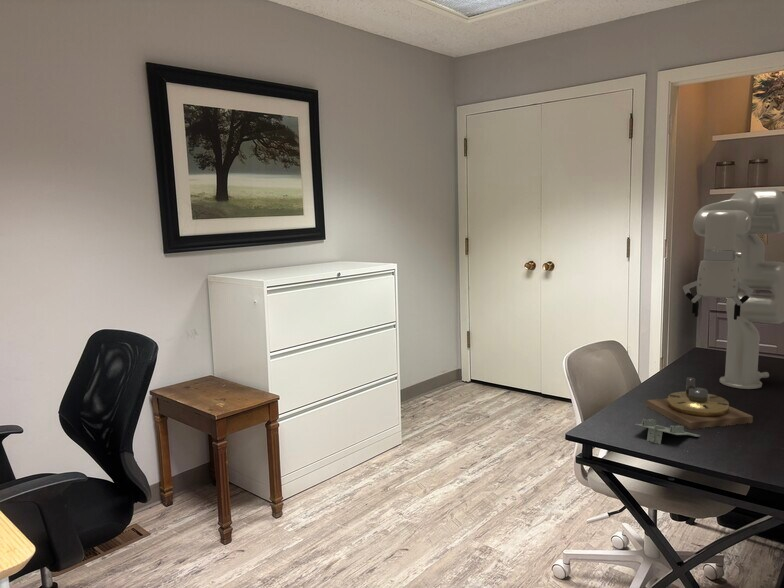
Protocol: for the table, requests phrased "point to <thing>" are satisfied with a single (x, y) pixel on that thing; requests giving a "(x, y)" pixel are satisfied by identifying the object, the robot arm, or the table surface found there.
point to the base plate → (699, 421)
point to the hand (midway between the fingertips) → (715, 317)
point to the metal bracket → (661, 430)
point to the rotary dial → (697, 401)
